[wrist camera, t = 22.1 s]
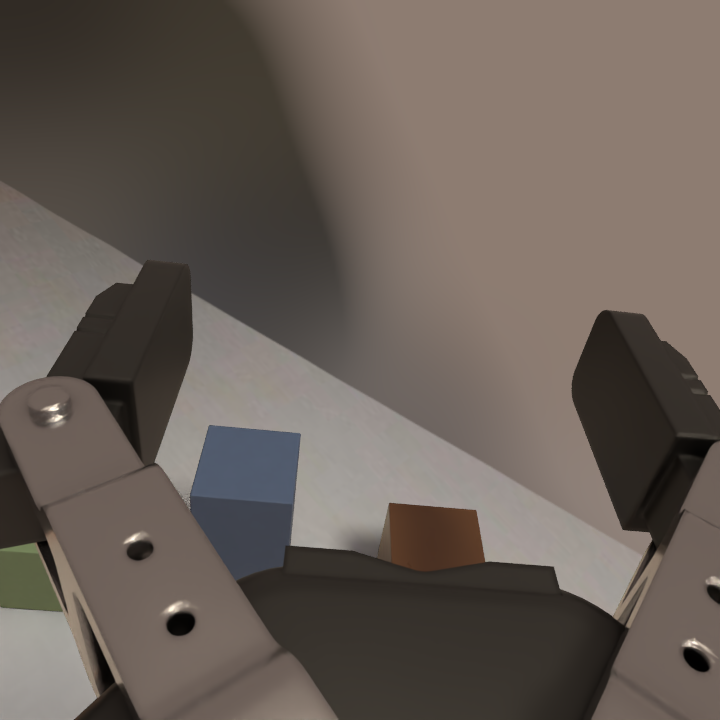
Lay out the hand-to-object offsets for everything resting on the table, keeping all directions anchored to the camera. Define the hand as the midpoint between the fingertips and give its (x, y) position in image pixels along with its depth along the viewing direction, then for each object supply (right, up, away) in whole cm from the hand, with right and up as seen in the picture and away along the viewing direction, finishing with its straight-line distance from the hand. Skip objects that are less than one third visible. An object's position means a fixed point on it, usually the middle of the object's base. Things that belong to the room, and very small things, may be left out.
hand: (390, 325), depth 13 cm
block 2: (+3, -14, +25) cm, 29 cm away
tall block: (-7, -13, +24) cm, 29 cm away
